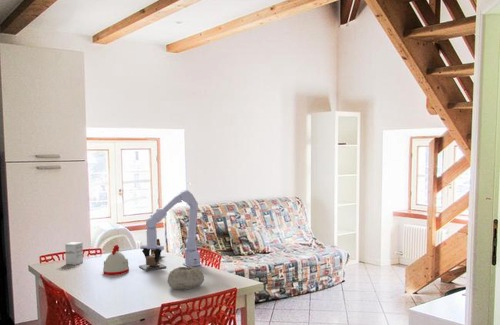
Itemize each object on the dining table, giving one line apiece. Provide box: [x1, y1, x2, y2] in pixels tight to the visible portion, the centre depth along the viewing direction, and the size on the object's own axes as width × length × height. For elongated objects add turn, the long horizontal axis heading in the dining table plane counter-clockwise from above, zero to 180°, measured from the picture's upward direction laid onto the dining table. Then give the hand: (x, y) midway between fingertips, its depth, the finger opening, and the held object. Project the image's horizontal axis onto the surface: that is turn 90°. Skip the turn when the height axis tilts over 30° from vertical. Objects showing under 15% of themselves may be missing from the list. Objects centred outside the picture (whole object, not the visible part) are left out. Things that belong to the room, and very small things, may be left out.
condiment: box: [150, 238, 166, 260], centre depth 284 cm, size 7×8×12 cm
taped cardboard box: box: [145, 254, 160, 266], centre depth 260 cm, size 5×5×6 cm
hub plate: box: [138, 262, 167, 272], centre depth 260 cm, size 12×12×4 cm
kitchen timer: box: [102, 244, 130, 276], centre depth 252 cm, size 14×14×15 cm
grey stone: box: [167, 266, 205, 291], centre depth 218 cm, size 18×18×10 cm
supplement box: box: [64, 241, 84, 266], centre depth 275 cm, size 7×7×13 cm
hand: (152, 261), depth 260 cm, fingers closed on taped cardboard box, 5 cm apart
